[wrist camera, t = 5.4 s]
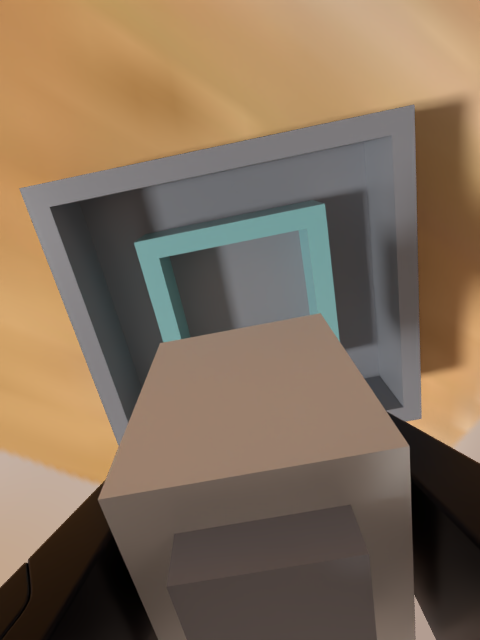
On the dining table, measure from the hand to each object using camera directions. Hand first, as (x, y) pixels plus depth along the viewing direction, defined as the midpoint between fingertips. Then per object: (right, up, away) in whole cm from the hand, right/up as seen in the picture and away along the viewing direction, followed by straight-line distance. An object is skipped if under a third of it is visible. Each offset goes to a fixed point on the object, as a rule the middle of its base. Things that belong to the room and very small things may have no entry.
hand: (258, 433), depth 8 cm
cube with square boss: (0, 0, +1) cm, 2 cm away
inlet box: (0, +4, +10) cm, 11 cm away
